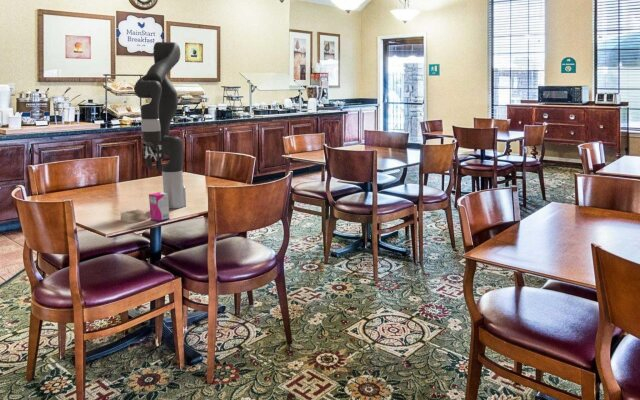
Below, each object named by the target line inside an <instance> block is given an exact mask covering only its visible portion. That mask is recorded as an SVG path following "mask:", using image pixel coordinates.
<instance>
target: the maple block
mask: <svg viewBox="0 0 640 400" xmlns="http://www.w3.org/2000/svg"><path fill="white" fill-rule="evenodd" d="M147 216H148V215H147V212H145V211H143V210H140V209H132V210H128V211H120V220H121V221H123V222H125V223H127V224H131V223H137V222H138V223H139V222H143V221H147V220H148V218H147Z"/></svg>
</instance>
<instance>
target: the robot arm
mask: <svg viewBox="0 0 640 400" xmlns="http://www.w3.org/2000/svg"><path fill="white" fill-rule="evenodd" d="M152 53H153V63H154V64H152V65H151V66H150V67H149V69H148V70H147V72H146V74H144V75H143V76H142V77H140V78H139V79H138V80H137V81H136V82H135V85H134V89H133V90H134V91H133V92H134V94H135V95H136V96H137V97H138V98H139V99H151V100H150V102H148V103H145V104H142V105H141V106H140V116H141V117H140V118H141V128H140V129H141V136H142V137H141V138H142V143H141V146H142V148H141V149H142V157H143V158H144V159H145V166H146V168H147V169H150V168H151V169H152V167H153V161H152V157H153V158H154V160H155V169H156V171H160V170H161V175H162V193H167V194H168V206H169V209H180V208H184V207H186V206H187V197H186V196H187V195H186V186H185V185H184V177H183V176H184V175H183V166H184V143H183V141H182V138H180V137H179V136H170V126H171V124H172V123H171V122H172V120H173V119H174V116H175V115H176V113H177V110H178V92H177V90H176V88H175V87H174V84H173V83H172V82H171V80H170V78H168V75H167V74H168V73H169V72H170V71H172V69H173V68H174V67H175V66H176V65H177V64H178V63H179V61H180V59H181V48H180V46H179V44H178V43H177V42H174V41H172V42H170V41H157V42H155V43H154V45H153V52H152ZM165 157H169V159H168V161H167V162H166V163H163V164H162V161H163V160H165Z"/></svg>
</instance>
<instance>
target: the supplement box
mask: <svg viewBox="0 0 640 400" xmlns="http://www.w3.org/2000/svg"><path fill="white" fill-rule="evenodd" d="M148 201H149V213H150V220H151V221H153V222H157V223H160V222H164V221H168V220H170V219H171V217H170V208H169V206H168V194H167V193H163V191H162V192H161V191H159V192H153V193H149V194H148Z"/></svg>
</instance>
